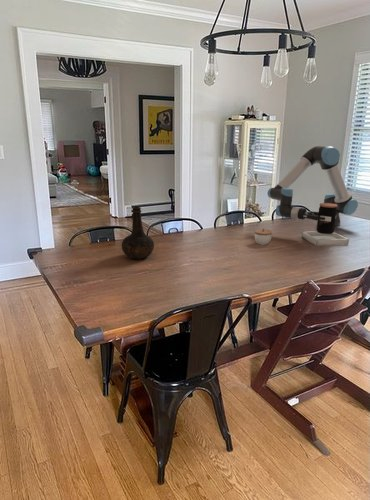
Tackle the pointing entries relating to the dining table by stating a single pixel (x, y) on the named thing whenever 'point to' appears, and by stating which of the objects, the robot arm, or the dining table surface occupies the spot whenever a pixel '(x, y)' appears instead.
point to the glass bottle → (137, 239)
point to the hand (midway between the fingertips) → (333, 217)
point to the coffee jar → (327, 211)
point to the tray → (325, 238)
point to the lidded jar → (263, 236)
